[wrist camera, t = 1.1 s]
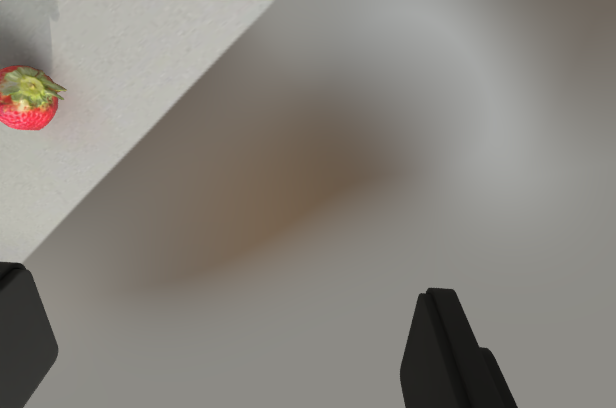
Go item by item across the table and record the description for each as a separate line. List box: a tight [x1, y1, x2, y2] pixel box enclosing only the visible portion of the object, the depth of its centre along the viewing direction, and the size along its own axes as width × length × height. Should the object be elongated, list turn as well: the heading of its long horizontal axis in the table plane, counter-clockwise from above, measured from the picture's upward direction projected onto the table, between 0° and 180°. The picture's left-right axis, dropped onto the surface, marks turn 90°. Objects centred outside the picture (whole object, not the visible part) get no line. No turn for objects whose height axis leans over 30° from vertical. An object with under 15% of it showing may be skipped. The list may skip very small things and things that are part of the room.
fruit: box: [0, 66, 66, 130], centre depth 28 cm, size 4×6×5 cm
